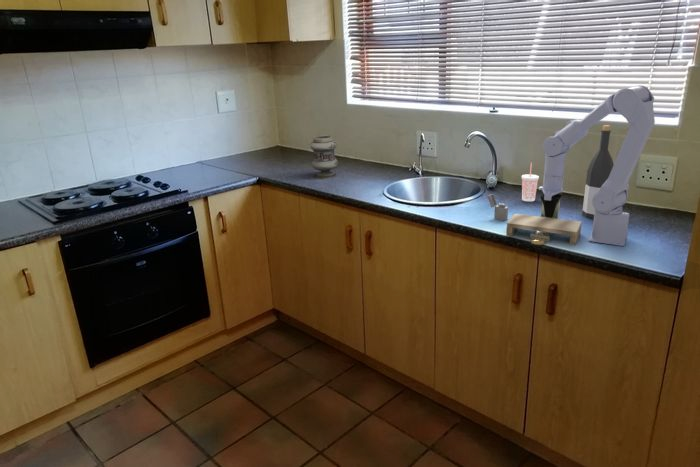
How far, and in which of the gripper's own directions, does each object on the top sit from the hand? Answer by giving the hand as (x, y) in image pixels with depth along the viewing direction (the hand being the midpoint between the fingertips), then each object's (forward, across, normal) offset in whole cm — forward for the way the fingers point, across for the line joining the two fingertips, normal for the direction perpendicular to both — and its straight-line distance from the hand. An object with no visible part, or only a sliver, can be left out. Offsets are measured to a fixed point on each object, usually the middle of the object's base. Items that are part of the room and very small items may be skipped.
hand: (549, 216), depth 169 cm
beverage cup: (+3, -26, -12) cm, 29 cm away
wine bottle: (+3, -16, +12) cm, 20 cm away
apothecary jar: (+3, -30, -104) cm, 108 cm away
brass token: (+3, +16, 0) cm, 17 cm away
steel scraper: (+3, +7, 0) cm, 8 cm away
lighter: (+3, -1, -17) cm, 17 cm away
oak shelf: (+3, +9, 0) cm, 10 cm away
